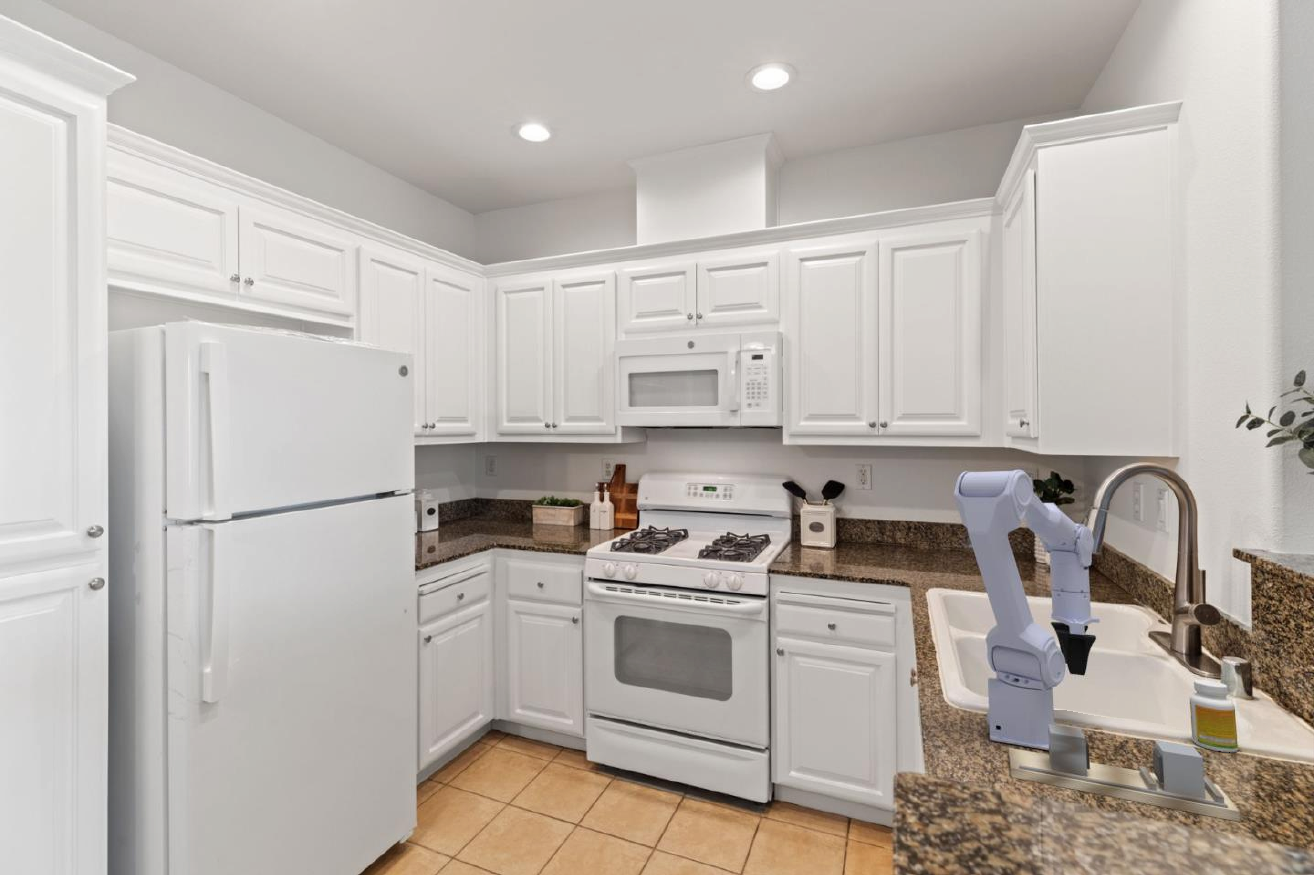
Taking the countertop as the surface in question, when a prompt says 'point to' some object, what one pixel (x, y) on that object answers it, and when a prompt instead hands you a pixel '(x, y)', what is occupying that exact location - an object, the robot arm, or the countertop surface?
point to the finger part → (1179, 769)
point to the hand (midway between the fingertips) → (1074, 669)
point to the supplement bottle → (1213, 717)
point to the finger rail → (1109, 776)
